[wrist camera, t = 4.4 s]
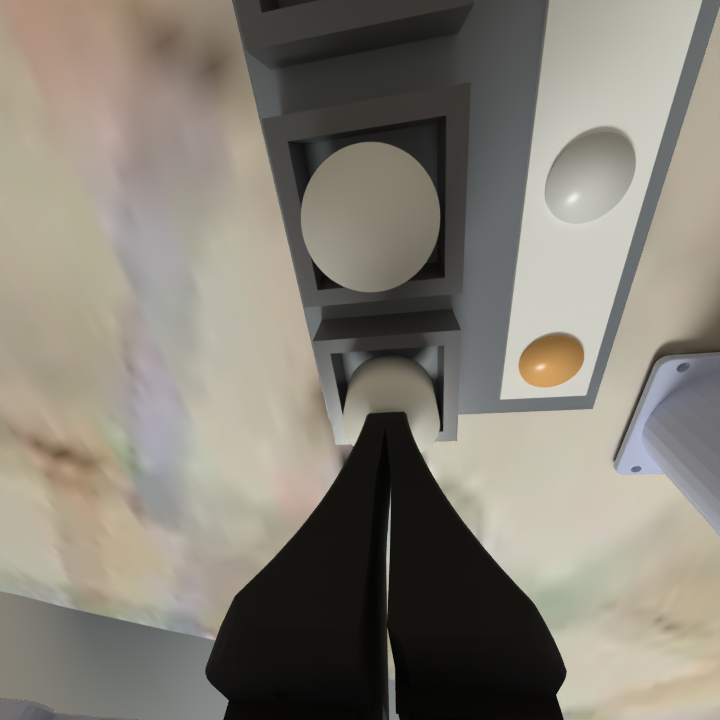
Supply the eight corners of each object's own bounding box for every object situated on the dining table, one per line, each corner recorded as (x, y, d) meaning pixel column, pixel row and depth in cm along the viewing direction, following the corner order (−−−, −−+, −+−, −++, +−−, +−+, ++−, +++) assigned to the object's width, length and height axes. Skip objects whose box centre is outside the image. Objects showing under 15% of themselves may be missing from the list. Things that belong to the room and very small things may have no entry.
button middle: (429, 136, 9) (440, 129, 7) (431, 264, 11) (440, 286, 9) (306, 155, 10) (285, 154, 8) (328, 275, 11) (315, 298, 10)
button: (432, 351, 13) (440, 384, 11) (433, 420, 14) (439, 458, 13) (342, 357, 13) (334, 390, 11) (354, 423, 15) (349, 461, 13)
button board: (792, -398, 7) (1128, -866, 4) (577, 389, 17) (617, 439, 14) (203, -207, 8) (98, -412, 5) (333, 402, 18) (322, 448, 16)
